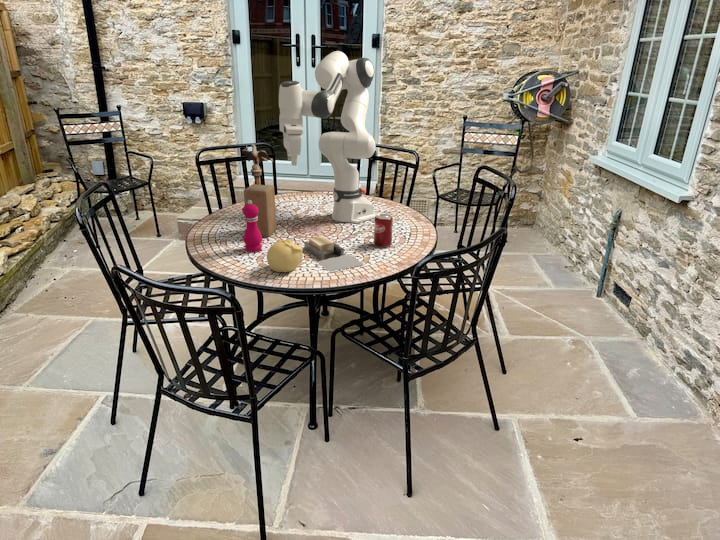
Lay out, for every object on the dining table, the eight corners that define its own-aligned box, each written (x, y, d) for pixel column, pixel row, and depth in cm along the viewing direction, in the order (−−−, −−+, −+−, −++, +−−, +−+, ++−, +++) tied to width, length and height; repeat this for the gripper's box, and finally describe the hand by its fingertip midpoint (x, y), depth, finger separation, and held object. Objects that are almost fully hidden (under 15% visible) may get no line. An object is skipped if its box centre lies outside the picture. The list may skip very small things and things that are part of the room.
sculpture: (308, 268, 172) (307, 240, 168) (281, 278, 164) (279, 249, 160) (288, 259, 180) (287, 232, 175) (261, 268, 172) (259, 240, 167)
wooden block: (269, 238, 200) (265, 191, 192) (246, 236, 202) (242, 189, 193) (277, 230, 209) (274, 185, 201) (255, 228, 211) (252, 183, 202)
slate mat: (349, 256, 184) (349, 254, 183) (363, 265, 176) (363, 263, 176) (316, 263, 177) (316, 261, 176) (329, 273, 169) (329, 271, 169)
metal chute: (326, 245, 194) (325, 237, 192) (343, 256, 183) (343, 249, 182) (304, 249, 189) (304, 242, 188) (321, 261, 178) (321, 254, 177)
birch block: (322, 244, 192) (322, 235, 190) (333, 252, 185) (333, 242, 184) (309, 247, 189) (308, 238, 187) (319, 255, 182) (319, 245, 181)
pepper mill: (242, 247, 190) (238, 198, 182) (260, 245, 192) (257, 196, 184) (246, 254, 184) (241, 203, 175) (264, 251, 186) (261, 201, 178)
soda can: (379, 249, 191) (380, 220, 186) (370, 243, 197) (371, 214, 192) (394, 246, 194) (396, 217, 189) (385, 240, 200) (387, 212, 195)
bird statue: (253, 209, 235) (247, 136, 221) (278, 211, 233) (274, 137, 219) (239, 220, 220) (232, 142, 206) (266, 222, 218) (261, 143, 204)
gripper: (279, 123, 192) (280, 158, 198) (286, 130, 174) (288, 168, 180) (294, 123, 194) (295, 157, 200) (304, 130, 176) (304, 167, 182)
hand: (292, 162), depth 190 cm, fingers open, 8 cm apart
